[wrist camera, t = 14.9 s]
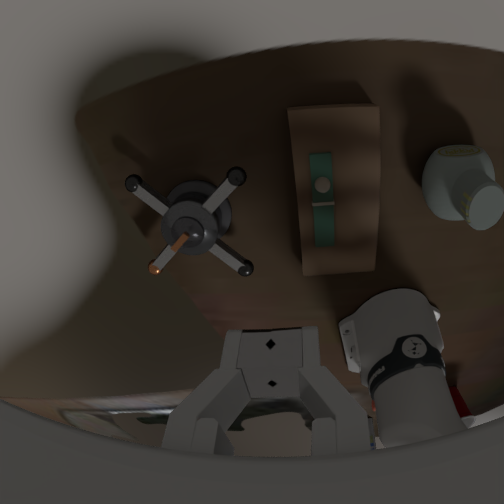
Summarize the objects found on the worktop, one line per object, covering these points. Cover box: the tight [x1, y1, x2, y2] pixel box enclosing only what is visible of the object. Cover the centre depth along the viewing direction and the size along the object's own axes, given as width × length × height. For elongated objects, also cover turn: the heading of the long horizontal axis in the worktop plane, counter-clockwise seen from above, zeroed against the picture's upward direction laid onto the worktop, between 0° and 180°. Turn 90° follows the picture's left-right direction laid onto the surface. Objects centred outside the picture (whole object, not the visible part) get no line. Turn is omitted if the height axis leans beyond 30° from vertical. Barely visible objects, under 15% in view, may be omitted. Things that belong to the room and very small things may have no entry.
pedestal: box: [167, 180, 232, 239], centre depth 41 cm, size 9×9×1 cm
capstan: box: [125, 167, 254, 276], centre depth 38 cm, size 20×20×5 cm
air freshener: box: [422, 145, 504, 230], centre depth 30 cm, size 11×8×10 cm
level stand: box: [287, 103, 381, 276], centre depth 36 cm, size 22×10×4 cm, turn 9°
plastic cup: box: [449, 386, 476, 428], centre depth 59 cm, size 11×11×12 cm
